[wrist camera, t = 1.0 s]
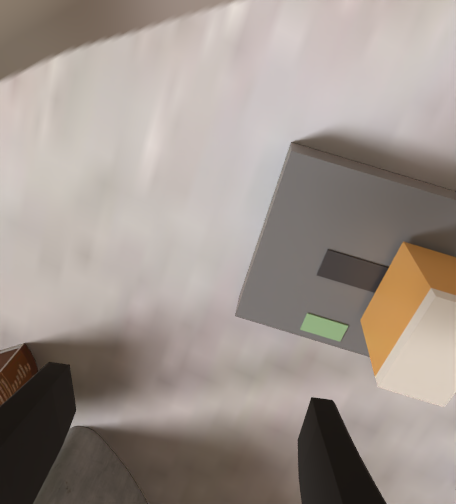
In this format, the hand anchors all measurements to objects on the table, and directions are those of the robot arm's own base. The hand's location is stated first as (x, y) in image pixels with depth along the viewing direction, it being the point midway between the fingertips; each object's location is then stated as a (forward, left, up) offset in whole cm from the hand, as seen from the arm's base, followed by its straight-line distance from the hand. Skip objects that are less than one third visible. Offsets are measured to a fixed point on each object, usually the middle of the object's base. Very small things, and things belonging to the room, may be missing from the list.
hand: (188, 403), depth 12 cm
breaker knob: (-9, -1, -10) cm, 14 cm away
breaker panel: (-9, -1, -12) cm, 15 cm away
